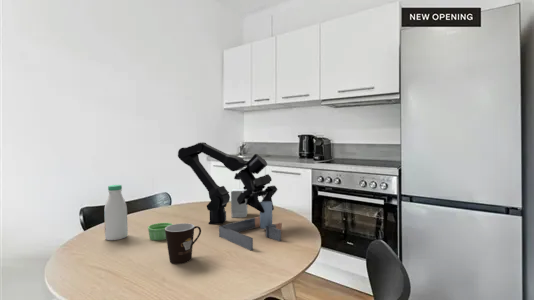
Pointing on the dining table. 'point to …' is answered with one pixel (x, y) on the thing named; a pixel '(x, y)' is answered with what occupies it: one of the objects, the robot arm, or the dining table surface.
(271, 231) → the bent channel
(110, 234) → the milk bottle
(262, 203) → the slate peg
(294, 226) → the dining table surface
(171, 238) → the coffee mug
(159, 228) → the ramekin
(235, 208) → the supplement box
